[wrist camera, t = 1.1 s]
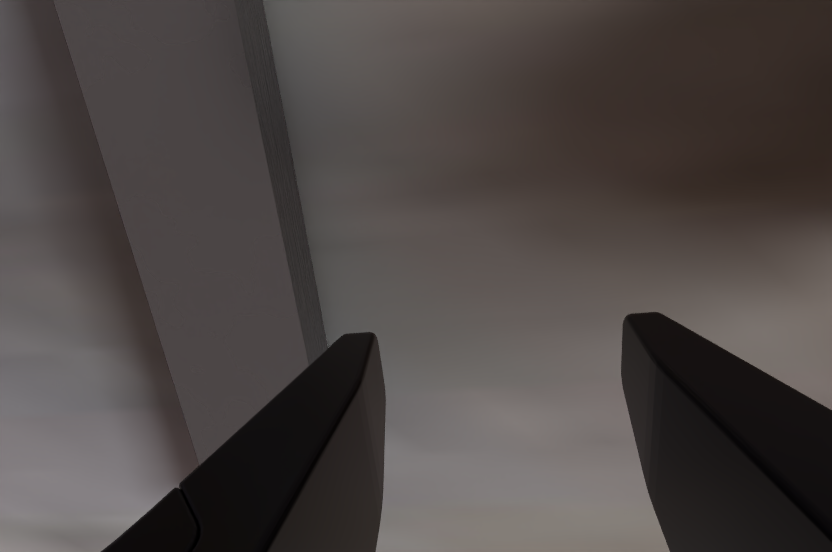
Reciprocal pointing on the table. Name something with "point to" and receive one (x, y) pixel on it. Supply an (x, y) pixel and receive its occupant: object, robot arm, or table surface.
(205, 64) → the link
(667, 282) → the table surface
